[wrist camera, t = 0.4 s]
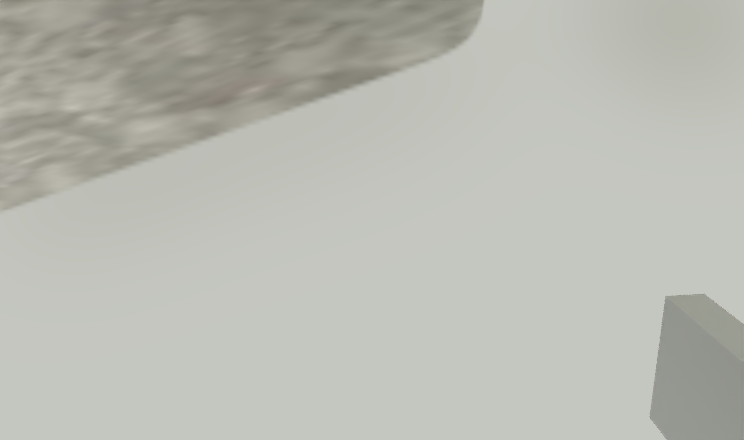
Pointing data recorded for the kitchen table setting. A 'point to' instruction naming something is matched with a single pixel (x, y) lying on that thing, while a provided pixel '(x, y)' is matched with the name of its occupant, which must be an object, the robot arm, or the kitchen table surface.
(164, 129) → the kitchen table surface
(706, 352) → the robot arm
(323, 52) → the kitchen table surface
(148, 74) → the kitchen table surface
